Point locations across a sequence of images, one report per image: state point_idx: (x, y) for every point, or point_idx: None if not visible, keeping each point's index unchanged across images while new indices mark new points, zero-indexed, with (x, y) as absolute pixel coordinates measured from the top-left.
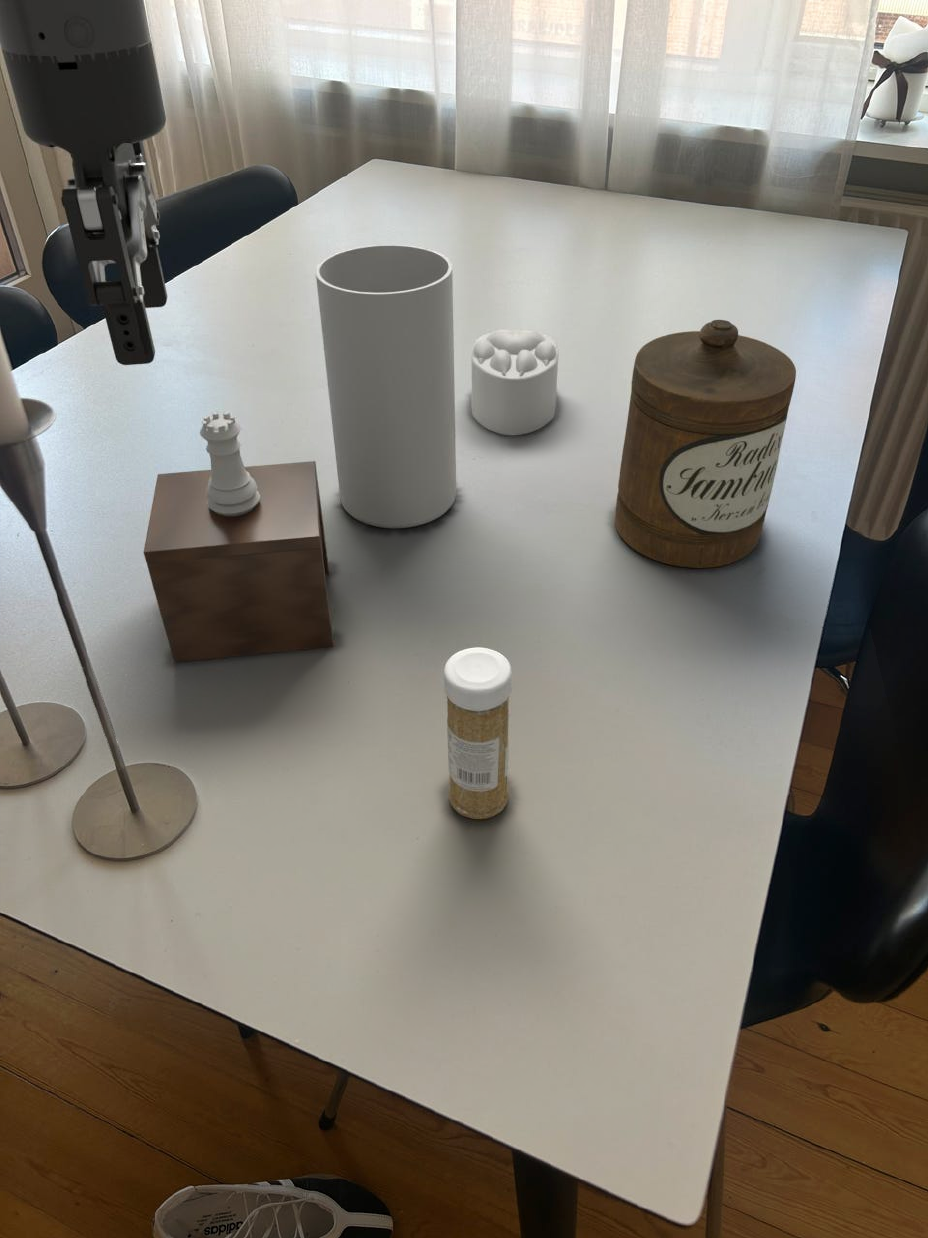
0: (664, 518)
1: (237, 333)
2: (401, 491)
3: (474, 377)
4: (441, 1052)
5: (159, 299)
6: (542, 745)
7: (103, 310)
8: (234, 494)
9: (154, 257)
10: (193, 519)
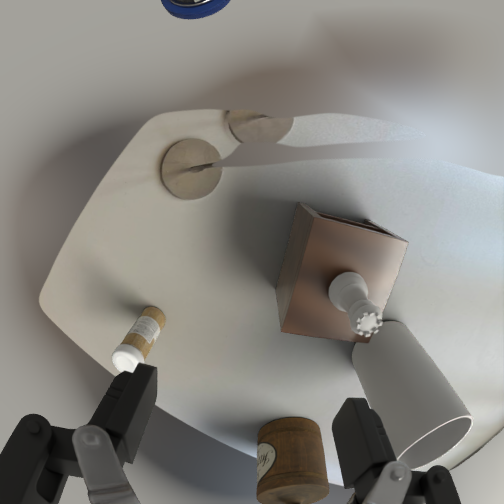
0: (271, 439)
1: None
2: (360, 360)
3: None
4: (67, 265)
5: (335, 426)
6: (176, 349)
7: (109, 419)
8: (335, 296)
9: (344, 478)
10: (340, 258)
